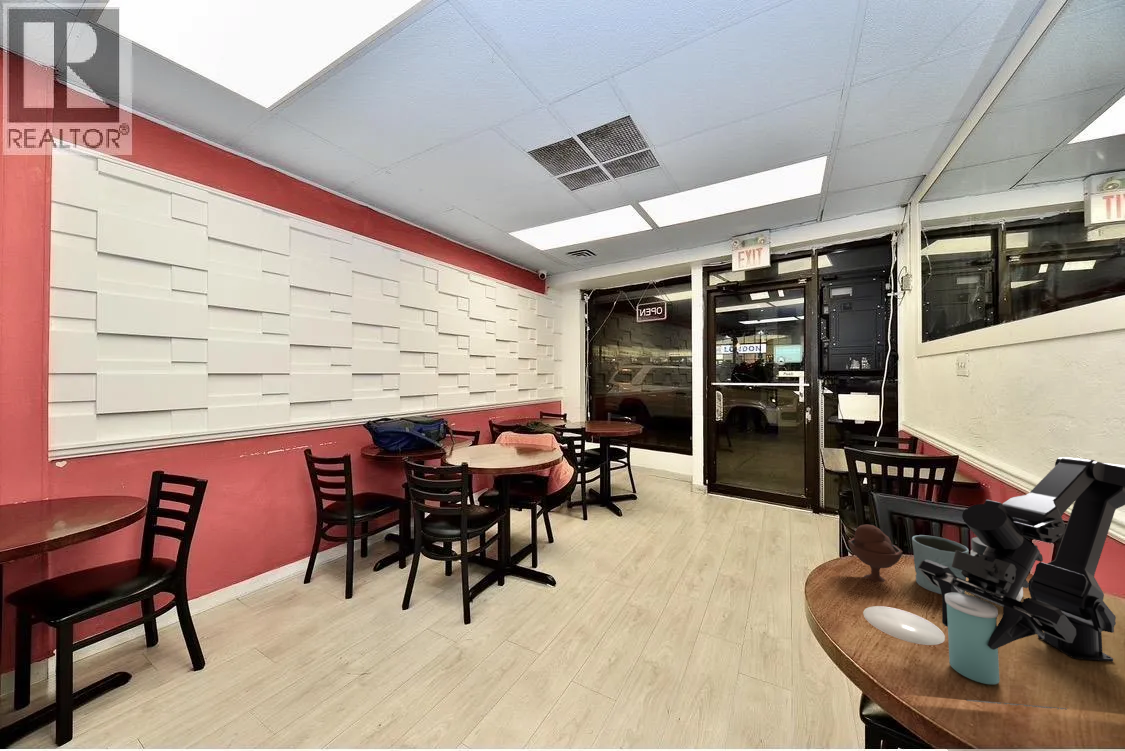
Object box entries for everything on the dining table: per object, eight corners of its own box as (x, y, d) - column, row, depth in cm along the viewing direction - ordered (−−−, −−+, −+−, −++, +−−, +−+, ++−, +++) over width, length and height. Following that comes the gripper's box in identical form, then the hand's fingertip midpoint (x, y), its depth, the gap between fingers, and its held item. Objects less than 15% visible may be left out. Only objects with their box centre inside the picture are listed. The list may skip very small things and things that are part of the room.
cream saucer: (912, 612, 87) (912, 608, 87) (964, 652, 74) (964, 647, 74) (850, 608, 88) (850, 604, 89) (889, 647, 76) (889, 642, 76)
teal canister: (959, 654, 71) (956, 589, 71) (1009, 678, 65) (1005, 608, 65) (939, 663, 69) (936, 597, 69) (989, 690, 63) (985, 617, 63)
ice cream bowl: (906, 598, 92) (904, 536, 93) (849, 584, 99) (847, 526, 99) (901, 579, 101) (899, 522, 101) (849, 568, 107) (847, 514, 108)
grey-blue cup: (912, 576, 102) (910, 531, 102) (966, 589, 96) (964, 541, 96) (915, 593, 94) (913, 544, 95) (974, 607, 88) (972, 555, 88)
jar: (1036, 601, 90) (1033, 550, 90) (1004, 603, 89) (1001, 552, 90) (991, 581, 99) (988, 535, 99) (961, 583, 98) (959, 536, 99)
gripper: (922, 518, 78) (883, 581, 75) (1061, 559, 59) (1018, 644, 56) (951, 552, 79) (915, 615, 76) (1094, 601, 61) (1054, 686, 58)
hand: (966, 635), depth 67 cm, fingers closed on teal canister, 6 cm apart
